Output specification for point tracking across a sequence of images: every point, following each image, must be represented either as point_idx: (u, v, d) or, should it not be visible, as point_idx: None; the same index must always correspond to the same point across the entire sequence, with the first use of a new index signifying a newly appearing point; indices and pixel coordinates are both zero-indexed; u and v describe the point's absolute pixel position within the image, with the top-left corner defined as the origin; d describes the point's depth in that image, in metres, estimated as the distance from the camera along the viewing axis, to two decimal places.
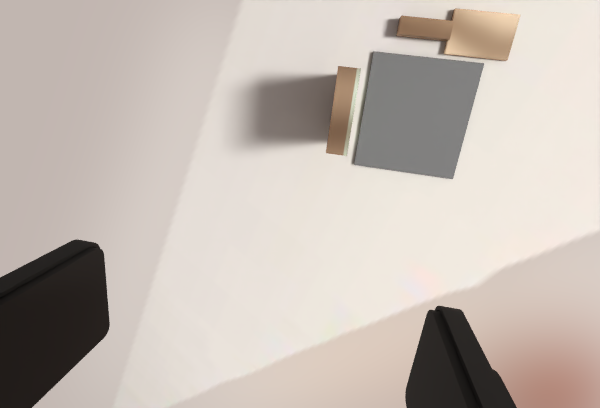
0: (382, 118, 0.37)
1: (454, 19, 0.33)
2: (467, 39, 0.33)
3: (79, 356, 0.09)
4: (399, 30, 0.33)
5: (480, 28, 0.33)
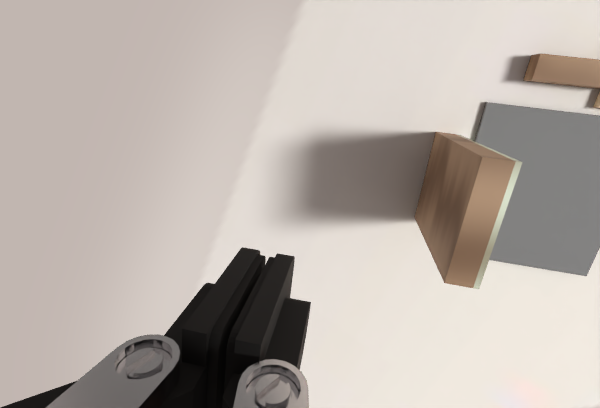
0: None
1: None
2: None
3: None
4: (534, 75, 0.22)
5: None
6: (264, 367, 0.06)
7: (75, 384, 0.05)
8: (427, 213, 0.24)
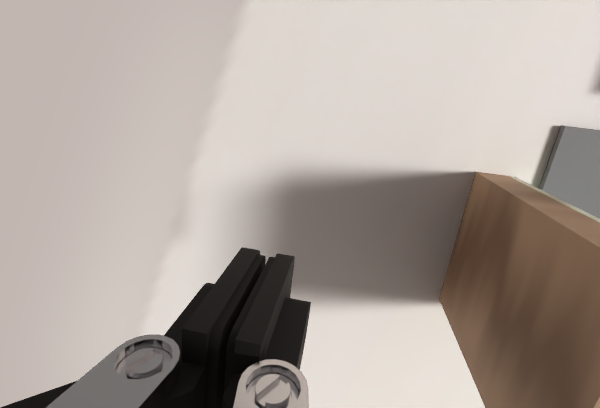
0: None
1: None
2: None
3: None
4: None
5: None
6: (264, 367, 0.06)
7: (75, 384, 0.05)
8: (466, 311, 0.14)
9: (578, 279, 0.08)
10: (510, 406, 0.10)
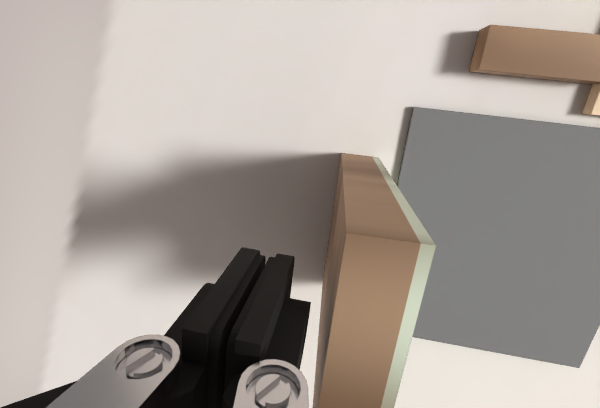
0: None
1: None
2: None
3: None
4: (483, 61, 0.13)
5: None
6: (264, 367, 0.06)
7: (75, 384, 0.05)
8: (324, 286, 0.15)
9: (339, 240, 0.09)
10: (318, 367, 0.11)
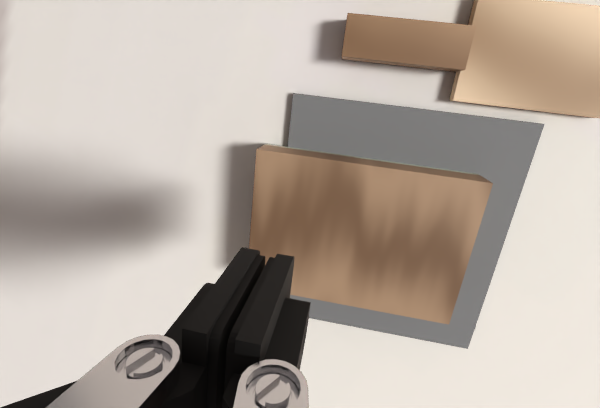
0: None
1: (476, 21, 0.13)
2: (507, 70, 0.14)
3: None
4: (344, 48, 0.14)
5: (539, 43, 0.13)
6: (264, 367, 0.06)
7: (75, 384, 0.05)
8: (314, 270, 0.16)
9: (441, 199, 0.14)
10: (406, 292, 0.16)
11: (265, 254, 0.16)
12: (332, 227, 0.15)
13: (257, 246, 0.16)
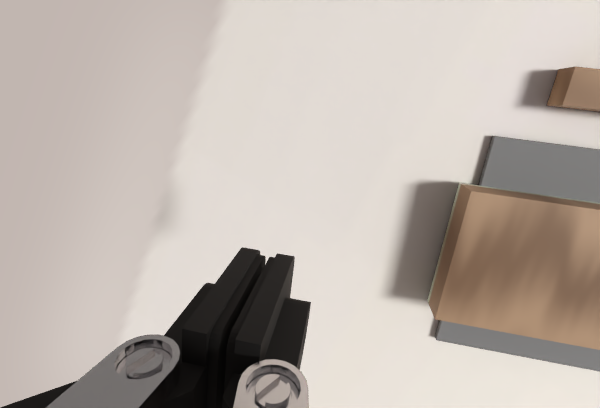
0: None
1: None
2: None
3: None
4: (566, 98, 0.15)
5: None
6: (264, 367, 0.06)
7: (75, 384, 0.05)
8: (510, 305, 0.17)
9: None
10: None
11: (461, 289, 0.17)
12: (536, 264, 0.16)
13: (454, 281, 0.17)
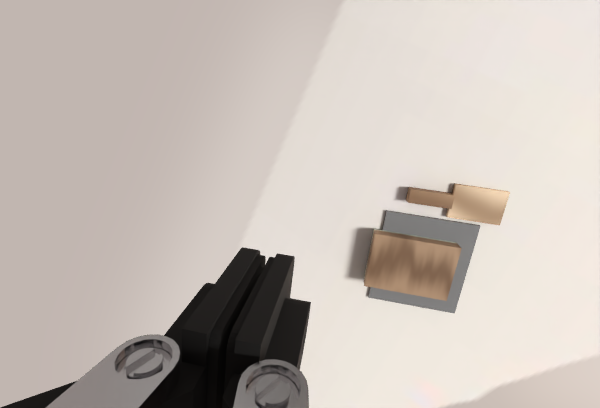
0: None
1: (455, 192, 0.39)
2: (466, 208, 0.39)
3: None
4: (409, 199, 0.39)
5: (476, 200, 0.39)
6: (264, 367, 0.06)
7: (75, 384, 0.05)
8: (393, 279, 0.41)
9: (443, 253, 0.39)
10: (430, 288, 0.41)
11: (374, 273, 0.41)
12: (402, 262, 0.40)
13: (371, 269, 0.41)
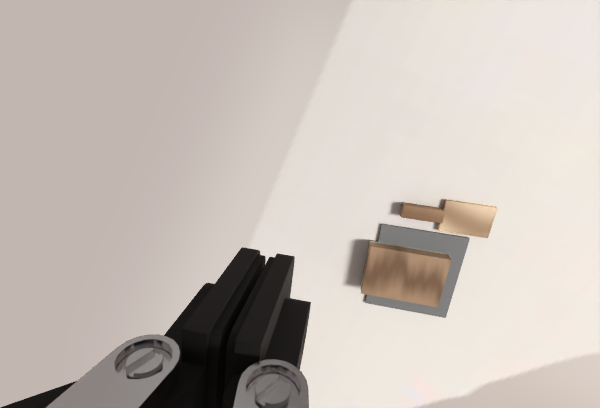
0: None
1: (445, 208, 0.41)
2: (456, 222, 0.42)
3: None
4: (402, 214, 0.42)
5: (466, 215, 0.41)
6: (264, 367, 0.06)
7: (75, 384, 0.05)
8: (388, 287, 0.44)
9: (434, 264, 0.42)
10: (422, 295, 0.44)
11: (370, 281, 0.44)
12: (396, 272, 0.43)
13: (367, 278, 0.44)
